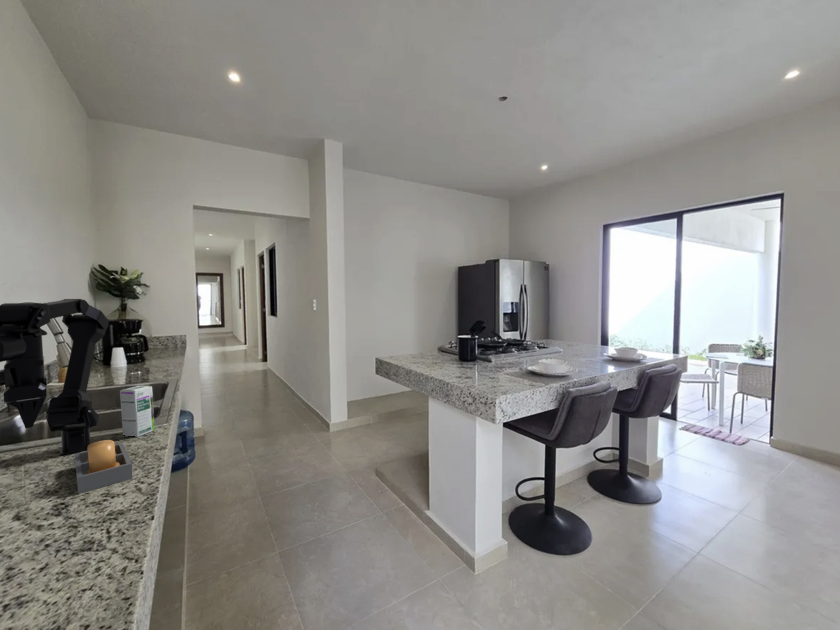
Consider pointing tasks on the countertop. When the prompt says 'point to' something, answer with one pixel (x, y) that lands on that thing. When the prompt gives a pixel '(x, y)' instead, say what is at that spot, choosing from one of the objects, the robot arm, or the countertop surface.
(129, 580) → the countertop surface
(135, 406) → the syrup box
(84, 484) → the gray divided tray
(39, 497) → the countertop surface
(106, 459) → the tan pear-shaped knob
